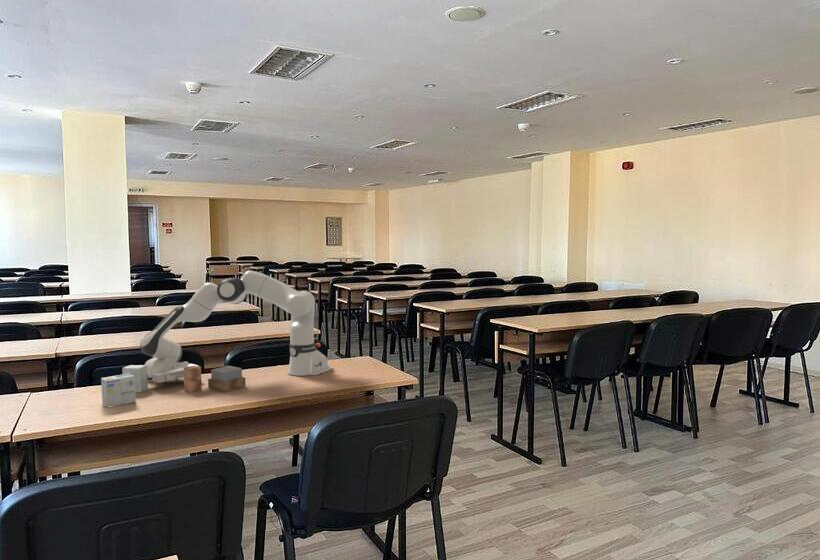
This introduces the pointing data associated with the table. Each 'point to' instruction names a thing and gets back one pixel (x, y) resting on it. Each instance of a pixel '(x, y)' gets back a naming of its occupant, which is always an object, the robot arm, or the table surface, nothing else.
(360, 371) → the table surface
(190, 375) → the terracotta block
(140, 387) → the small box
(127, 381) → the light bulb box
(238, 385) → the walnut base block
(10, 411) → the table surface
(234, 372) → the grey top block
